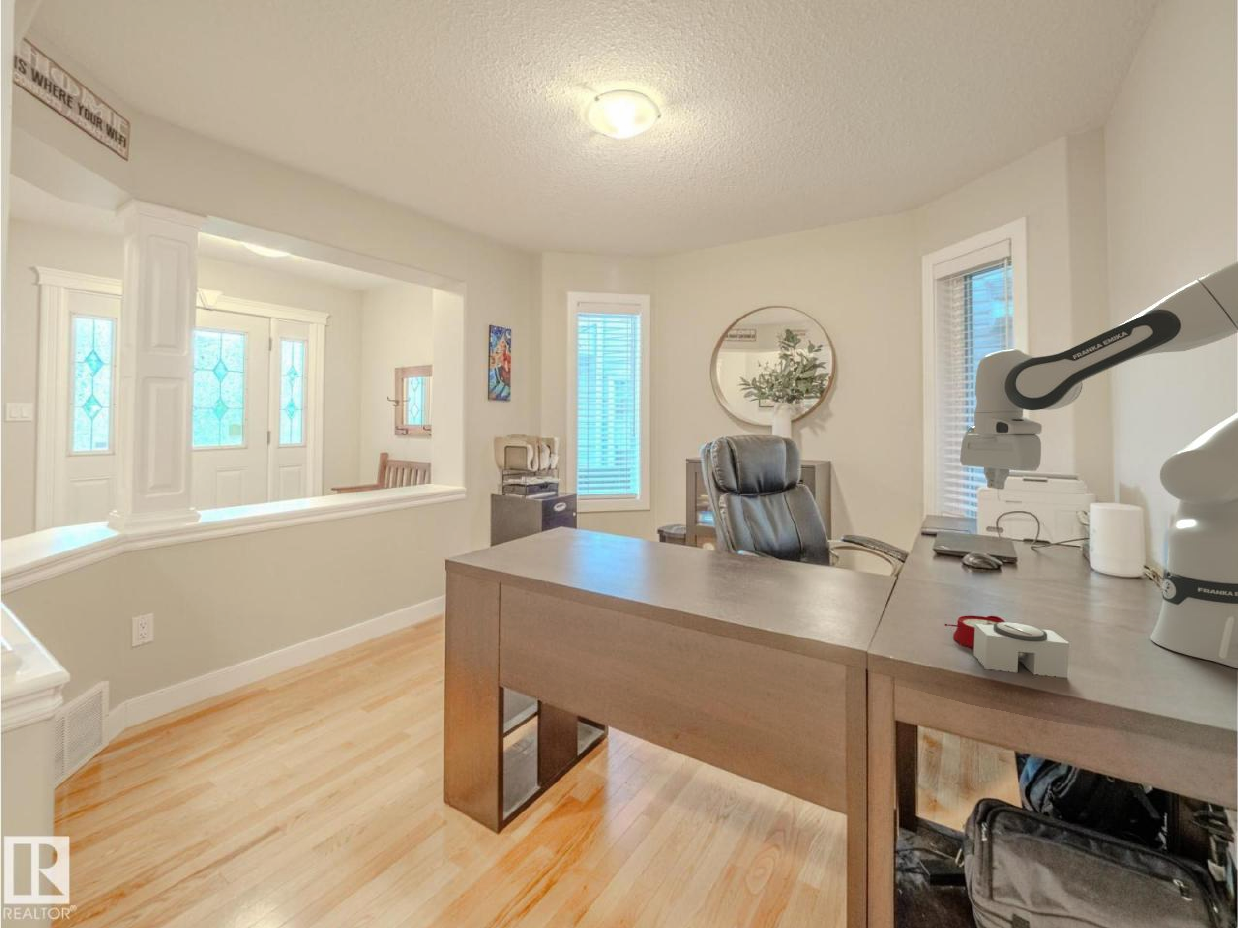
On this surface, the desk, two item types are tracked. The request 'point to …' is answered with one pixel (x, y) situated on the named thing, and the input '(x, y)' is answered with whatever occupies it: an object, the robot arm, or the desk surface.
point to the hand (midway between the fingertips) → (995, 488)
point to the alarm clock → (971, 627)
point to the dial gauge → (1021, 648)
